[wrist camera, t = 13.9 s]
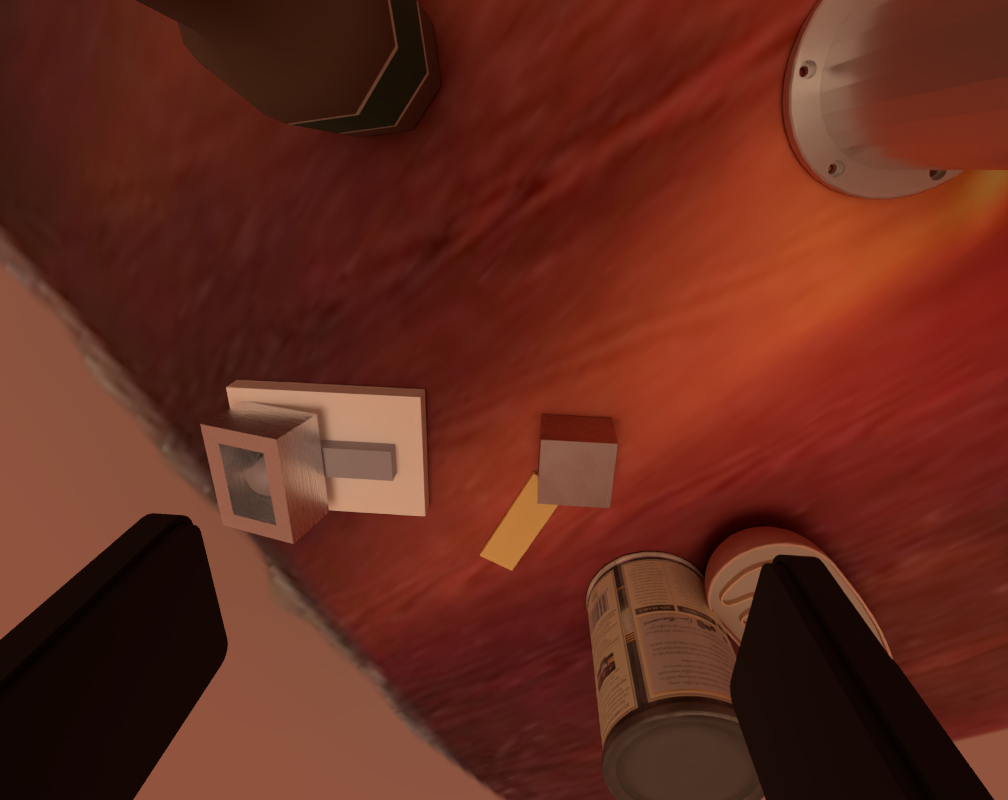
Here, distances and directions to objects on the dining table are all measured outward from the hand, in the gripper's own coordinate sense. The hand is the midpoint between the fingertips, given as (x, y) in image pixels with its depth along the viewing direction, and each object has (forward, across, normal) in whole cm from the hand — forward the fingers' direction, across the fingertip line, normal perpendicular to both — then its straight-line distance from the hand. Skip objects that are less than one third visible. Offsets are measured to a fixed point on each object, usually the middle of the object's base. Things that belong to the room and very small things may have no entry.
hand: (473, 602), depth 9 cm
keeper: (+28, +14, +13) cm, 34 cm away
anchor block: (+28, -4, +12) cm, 31 cm away
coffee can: (+28, -11, +26) cm, 40 cm away
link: (+26, +17, +13) cm, 34 cm away
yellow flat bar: (+28, 0, +19) cm, 34 cm away
